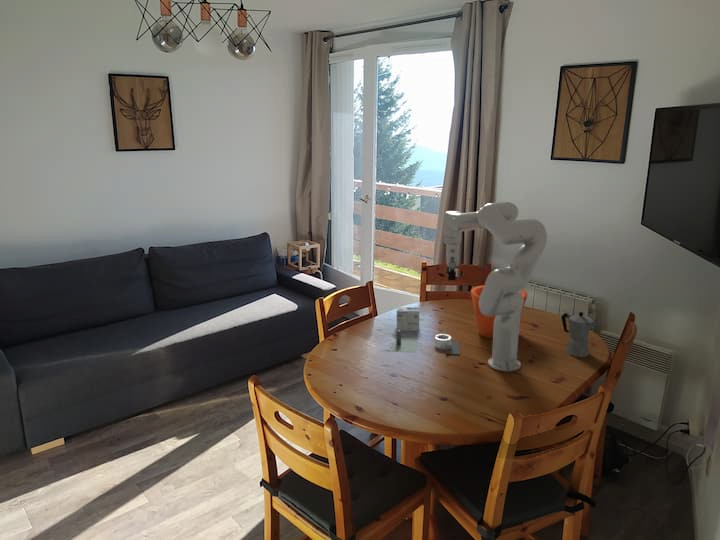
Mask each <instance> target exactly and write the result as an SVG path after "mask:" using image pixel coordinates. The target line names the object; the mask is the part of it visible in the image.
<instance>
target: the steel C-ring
mask: <svg viewBox="0 0 720 540" xmlns="http://www.w3.org/2000/svg"><path fill="white" fill-rule="evenodd" d="M451 341H452V336H451V335H449V334H445V333H440V334H436V335H434V348H436V349H439V350H444V351H445V350H449V349H450V348H451Z"/></svg>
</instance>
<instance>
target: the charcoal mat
mask: <svg viewBox="0 0 720 540" xmlns="http://www.w3.org/2000/svg"><path fill="white" fill-rule="evenodd" d="M444 353H445V354H452V355H451V356H460V355H461V354H460V353H461V352H460V345H459V341H458V340H451V348H450V349H449V350H445V349H444Z"/></svg>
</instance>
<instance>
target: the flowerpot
mask: <svg viewBox="0 0 720 540" xmlns="http://www.w3.org/2000/svg"><path fill="white" fill-rule="evenodd" d="M484 285H485V284H483V285H478V286H477V285H476V286H475V287H472V288H471V289H470V295H471V300H472V305H473V310H474V315H475V319H476V324H477V325H476V326H477V329H478V333H479V335H481V337H483V336H484V338H486V339H489V338H490V339H491V340H493V331H494V320H495V317H496V316H492V317H489V316H485V315H484V314H482V312H481V311H480V308H479V299H480V295H481V293H482V290H483V287H484ZM520 292H521V294H522V296H523V307H522V311H521V315H520V318H521V317H522V314H523V311H524V307H525V304H526V302H527V298H528V292H527V291H526V290H525V289H523V290H520Z"/></svg>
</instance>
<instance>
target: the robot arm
mask: <svg viewBox="0 0 720 540" xmlns="http://www.w3.org/2000/svg"><path fill="white" fill-rule="evenodd" d="M518 217H519V209H518V207H517V205H516V204H515V203H512V202H510V201H500V202H490V203H486V204H485V205H483V206H482V207H481V208H480V209H478V211H471V212H470V211H469V212H460V211H458V210H447V211H445V212H444V218H443V219H444V220H443V243H444V244H445V245H446V247H445V251H446V252H445V255H446V256H445V258H446V265H447V267H446V269H447V270H446V275H447V280H448V281H456V279H457V278H456V276H457V271H456V267H459V265H460V264H459V262H460V261H459V259H460V258H459V257H460V254H459V253H460V250H459V249H460V245H461V244H462V232H467V231H475V230H477V231H478V230H481V229H487V231H488V232H490V233H491V235H493V237H494V238H495V239H496V240H497V241H498V242H499V243H501V244H503V245H506V246H511V245H517V244H521V246H520V247H519V248H518V249H517V250H516V251H515V252H514V255H513V256H512V259H511V262H510V264H509V265H507V266H505V267H500V268H496V269H494V270H492V271H490V273H489V274H488V276H487V277H486V279H485V282H484V284H483V285H484V287H483V290H482V293H481V295H480V299H479V308H480V311H481V312H482V314H484V315H485V316H489V317H492V316H496V317H495V320H494V331H493V339H492V356H491V357H490V358H489V359H487V365H488V366H489V367H490V368H492V369H493V370H496V371H500V372H501V371H502V372H515V371H517V370H519V369H521V365H522V363H521V362H520V360H518V348H519V333H520V332H519V331H520V319H521V317H520V315H521V316H522V314H521V311H522V307H523V296H522V294H521V292H520V290H525V289H526V287H528V286H527V285H528V284H529V282H530V281H531V277H532V275H533V273H534V271H535V269H536V266H537V264H538V262H539V260H540V258H541V257H542V254H543V253H544V250H545V249H546V245H547V242H548V233H547V230H546V229H547V228H546V227H545V225H544V224H543V223H542V222H541V221H539V220H538V219H534V218H523V219H518ZM523 308H524V307H523ZM522 312H523V311H522Z"/></svg>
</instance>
